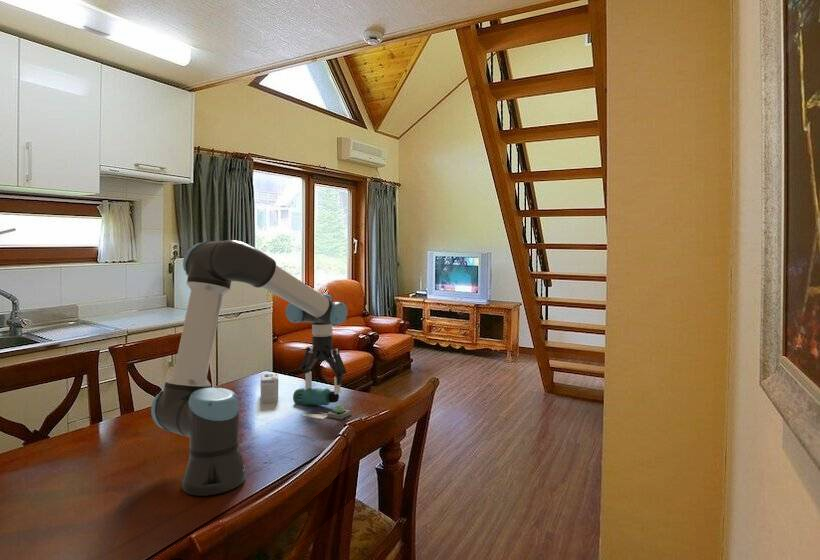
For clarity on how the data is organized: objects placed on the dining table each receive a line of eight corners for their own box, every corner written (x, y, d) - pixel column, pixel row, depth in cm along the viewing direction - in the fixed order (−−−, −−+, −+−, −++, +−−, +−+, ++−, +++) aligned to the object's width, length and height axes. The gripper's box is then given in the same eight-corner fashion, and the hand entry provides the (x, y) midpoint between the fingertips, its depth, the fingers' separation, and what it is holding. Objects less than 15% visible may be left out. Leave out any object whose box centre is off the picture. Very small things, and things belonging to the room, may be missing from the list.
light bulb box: (260, 400, 184) (260, 374, 184) (278, 399, 186) (277, 373, 186) (260, 408, 174) (260, 379, 174) (278, 406, 176) (278, 378, 176)
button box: (341, 419, 160) (341, 415, 160) (327, 417, 162) (327, 412, 162) (350, 414, 165) (350, 410, 165) (337, 412, 168) (337, 408, 168)
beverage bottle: (303, 397, 182) (344, 397, 173) (293, 409, 176) (335, 409, 167) (296, 384, 179) (337, 383, 170) (286, 396, 174) (328, 395, 165)
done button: (340, 413, 161) (340, 409, 161) (332, 412, 163) (332, 408, 163) (345, 411, 164) (345, 407, 164) (338, 409, 166) (338, 405, 166)
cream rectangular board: (322, 419, 160) (322, 418, 160) (295, 414, 165) (295, 413, 165) (348, 407, 174) (348, 406, 174) (323, 403, 179) (323, 402, 179)
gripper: (355, 335, 169) (355, 392, 169) (303, 332, 181) (303, 385, 181) (343, 338, 163) (344, 397, 163) (290, 334, 174) (290, 390, 174)
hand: (322, 391), depth 172 cm, fingers open, 13 cm apart
